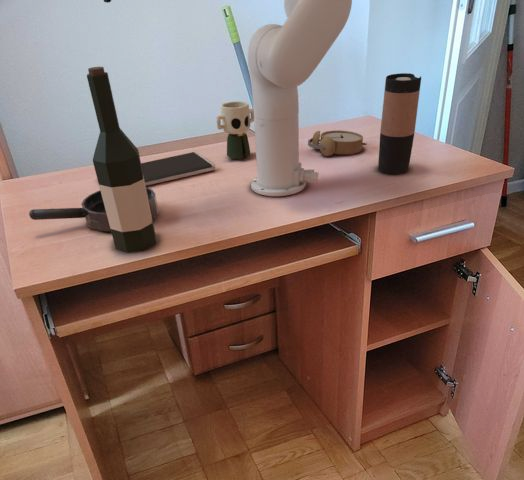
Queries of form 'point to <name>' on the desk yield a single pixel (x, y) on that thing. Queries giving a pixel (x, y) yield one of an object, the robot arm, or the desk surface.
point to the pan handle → (56, 213)
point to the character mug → (236, 127)
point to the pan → (97, 212)
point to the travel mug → (398, 122)
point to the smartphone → (175, 167)
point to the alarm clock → (337, 142)
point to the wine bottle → (119, 173)
